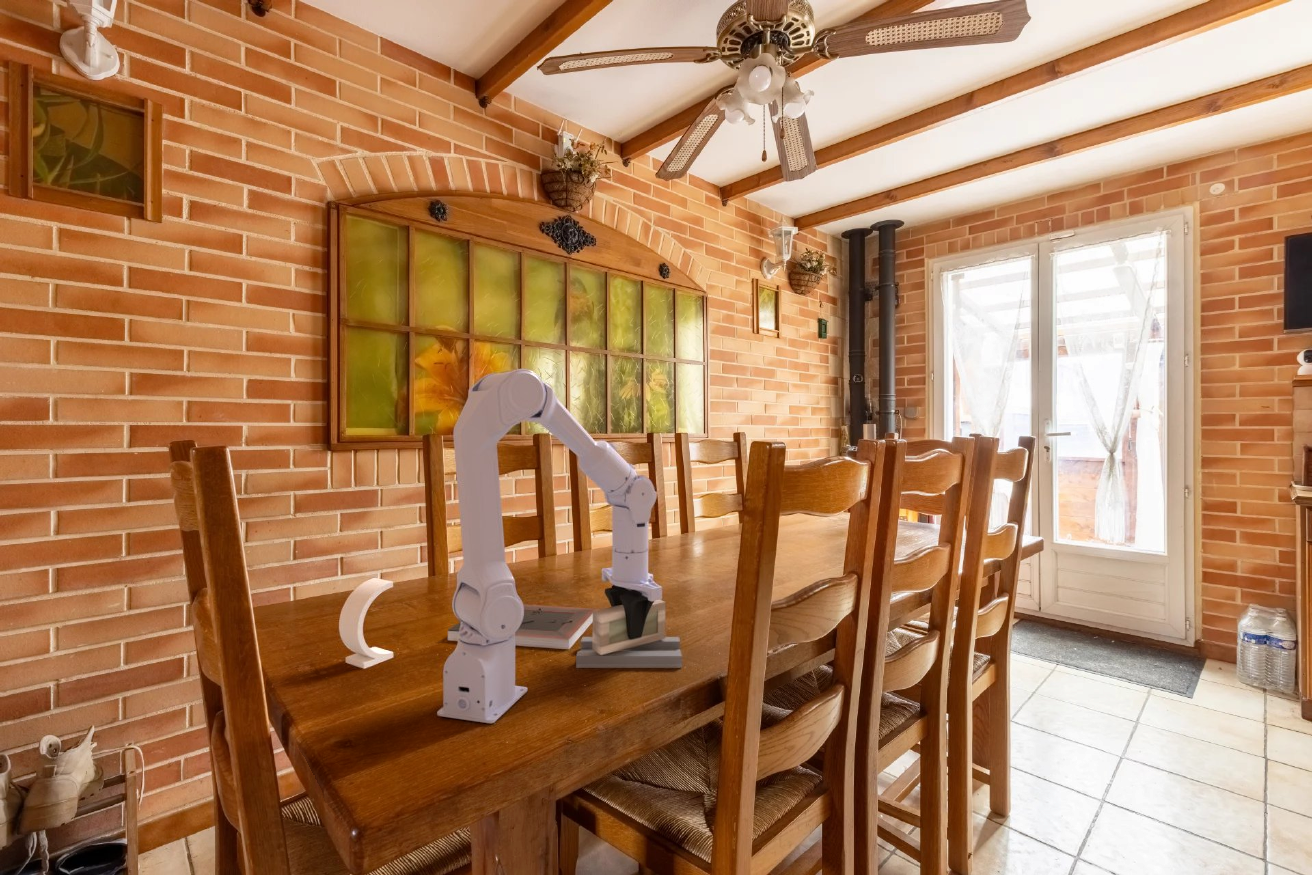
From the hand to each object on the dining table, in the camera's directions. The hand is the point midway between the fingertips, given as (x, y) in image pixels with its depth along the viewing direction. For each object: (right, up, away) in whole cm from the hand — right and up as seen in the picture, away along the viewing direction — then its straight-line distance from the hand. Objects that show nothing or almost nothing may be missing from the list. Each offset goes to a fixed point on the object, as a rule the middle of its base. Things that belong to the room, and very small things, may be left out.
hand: (629, 635), depth 92 cm
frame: (0, -1, 0) cm, 1 cm away
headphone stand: (-41, -4, -2) cm, 41 cm away
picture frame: (-19, -4, +13) cm, 24 cm away
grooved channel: (0, -4, 0) cm, 4 cm away
